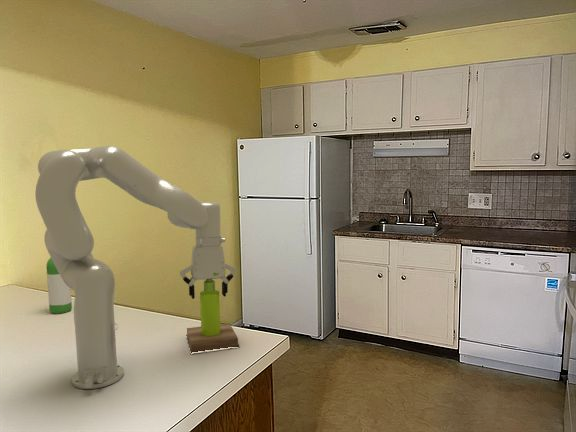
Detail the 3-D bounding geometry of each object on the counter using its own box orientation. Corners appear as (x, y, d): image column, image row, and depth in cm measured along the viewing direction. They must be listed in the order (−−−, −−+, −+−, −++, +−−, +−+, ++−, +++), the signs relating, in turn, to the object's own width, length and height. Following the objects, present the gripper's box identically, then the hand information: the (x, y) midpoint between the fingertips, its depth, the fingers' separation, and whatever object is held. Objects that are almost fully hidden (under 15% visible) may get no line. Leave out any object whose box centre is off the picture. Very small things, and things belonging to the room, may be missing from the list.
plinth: (239, 347, 136) (239, 338, 136) (190, 354, 132) (190, 344, 132) (230, 331, 150) (230, 322, 150) (186, 336, 146) (185, 328, 145)
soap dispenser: (212, 338, 136) (210, 274, 134) (197, 333, 140) (195, 271, 138) (226, 332, 141) (224, 270, 139) (211, 328, 145) (209, 267, 143)
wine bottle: (52, 309, 176) (46, 234, 173) (73, 307, 178) (68, 233, 175) (47, 315, 169) (41, 237, 165) (70, 313, 171) (64, 235, 168)
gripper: (233, 239, 144) (233, 291, 145) (178, 241, 138) (179, 295, 140) (238, 242, 136) (238, 297, 138) (180, 245, 131) (181, 302, 133)
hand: (208, 296), depth 139 cm, fingers open, 9 cm apart
